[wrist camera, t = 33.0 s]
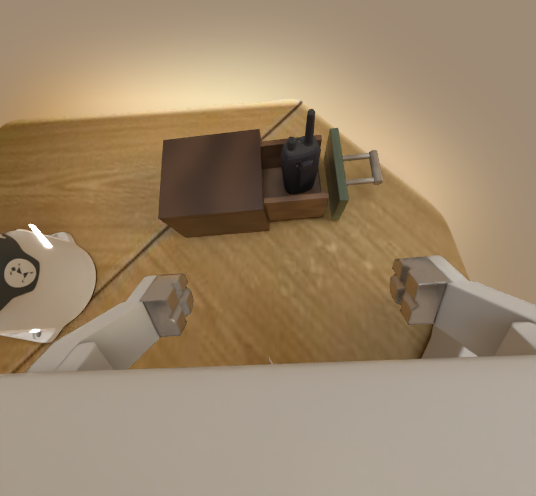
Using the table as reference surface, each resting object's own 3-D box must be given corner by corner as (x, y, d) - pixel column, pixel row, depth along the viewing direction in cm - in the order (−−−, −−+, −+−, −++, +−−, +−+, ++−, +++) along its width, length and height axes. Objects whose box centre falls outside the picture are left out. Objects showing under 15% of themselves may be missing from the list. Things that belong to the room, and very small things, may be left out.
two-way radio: (312, 171, 41) (322, 95, 27) (320, 194, 40) (336, 128, 25) (280, 180, 41) (273, 110, 27) (287, 204, 40) (284, 144, 26)
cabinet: (266, 164, 45) (259, 128, 36) (269, 230, 41) (263, 209, 33) (188, 172, 46) (163, 140, 37) (185, 237, 43) (158, 218, 34)
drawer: (364, 154, 42) (378, 123, 35) (374, 216, 39) (392, 195, 32) (253, 166, 44) (246, 138, 37) (256, 226, 41) (248, 209, 34)
